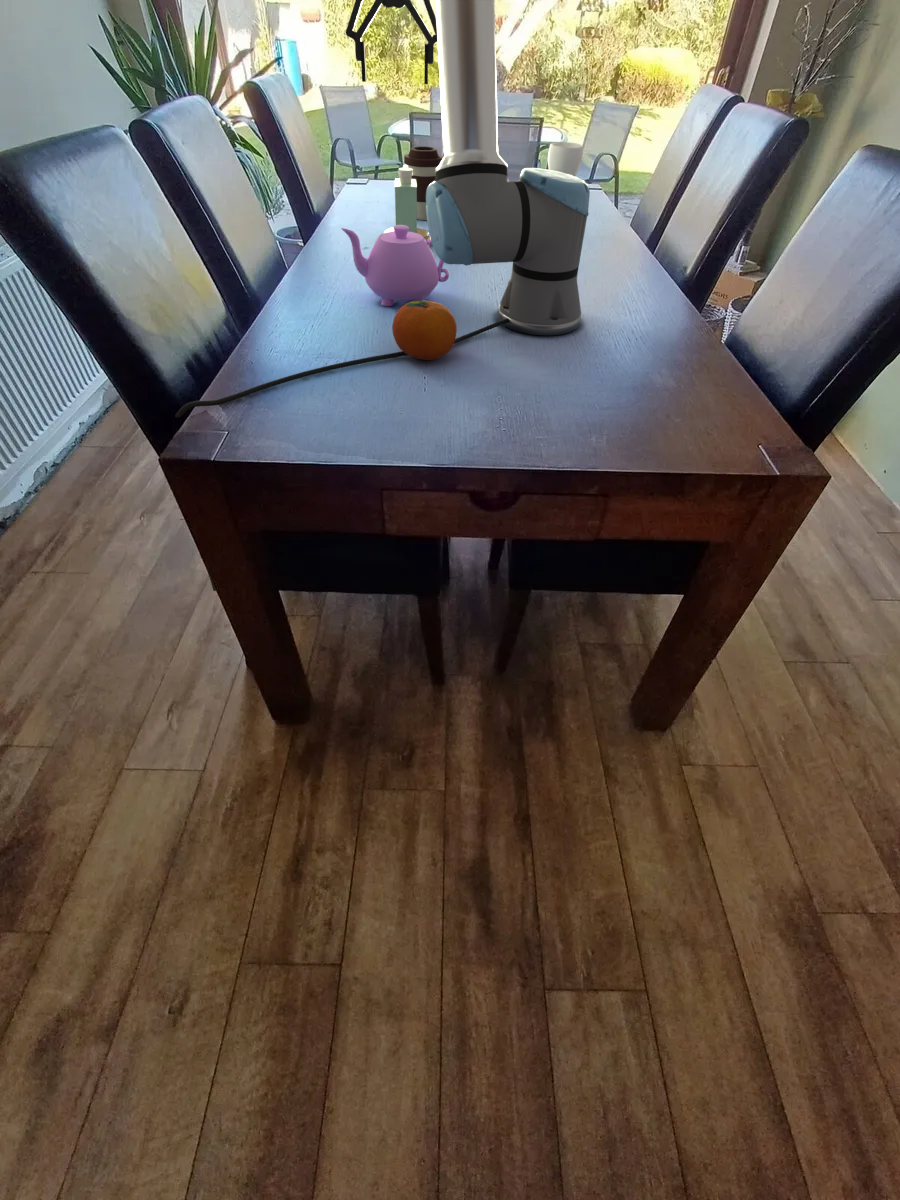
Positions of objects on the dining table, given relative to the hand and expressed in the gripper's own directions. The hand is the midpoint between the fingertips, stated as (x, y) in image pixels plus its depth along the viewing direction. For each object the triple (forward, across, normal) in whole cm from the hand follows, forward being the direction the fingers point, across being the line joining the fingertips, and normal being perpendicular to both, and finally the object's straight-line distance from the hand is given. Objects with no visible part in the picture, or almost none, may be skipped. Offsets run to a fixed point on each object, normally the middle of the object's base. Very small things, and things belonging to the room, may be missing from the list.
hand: (395, 82), depth 138 cm
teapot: (+29, +2, -48) cm, 56 cm away
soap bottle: (+27, +2, -12) cm, 30 cm away
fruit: (+29, +8, -75) cm, 81 cm away
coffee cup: (+29, +6, +13) cm, 32 cm away
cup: (+29, +43, +18) cm, 55 cm away
